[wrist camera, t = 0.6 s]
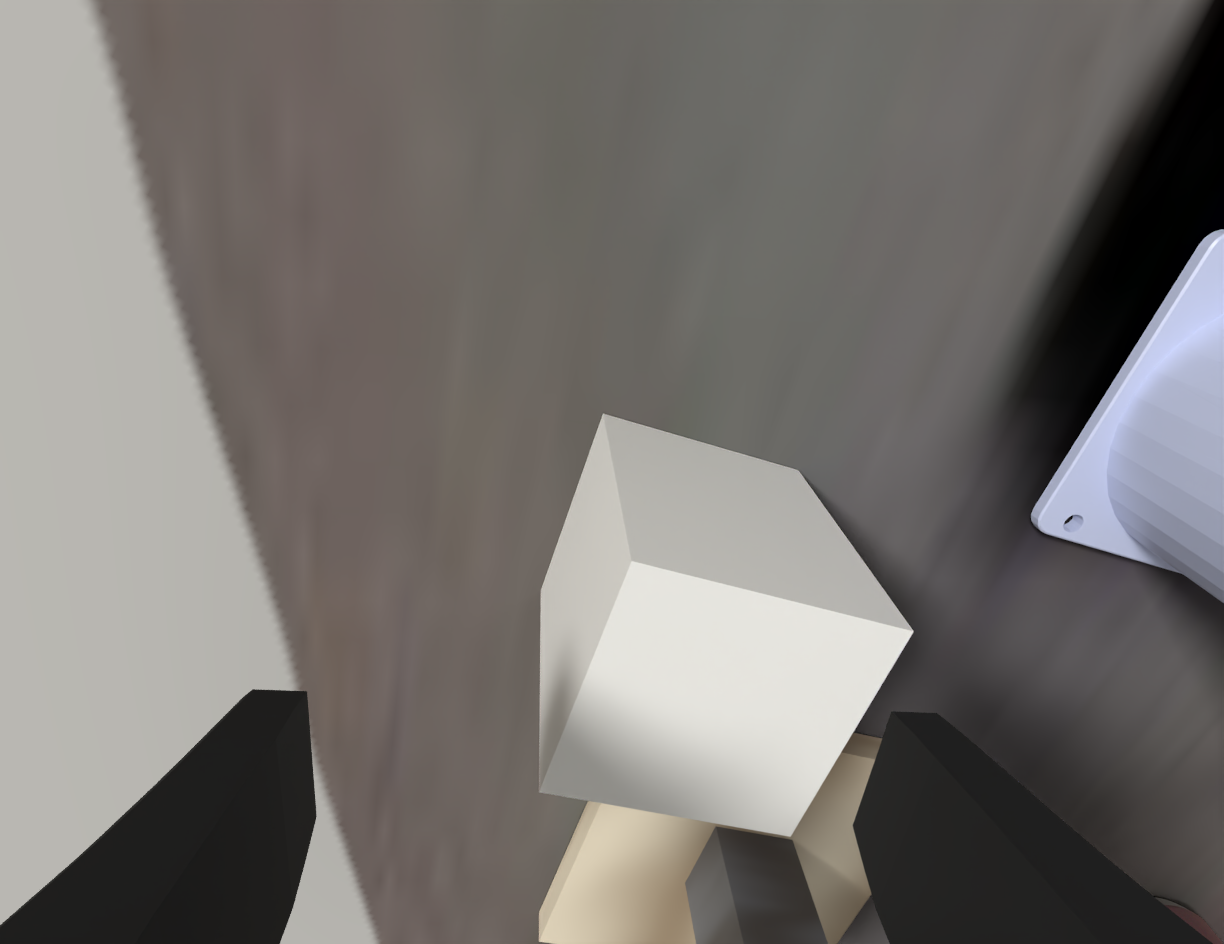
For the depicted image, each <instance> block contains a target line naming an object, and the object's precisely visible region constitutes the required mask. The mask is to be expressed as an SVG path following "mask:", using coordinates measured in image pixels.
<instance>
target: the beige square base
mask: <svg viewBox="0 0 1224 944" xmlns="http://www.w3.org/2000/svg"><path fill="white" fill-rule="evenodd" d="M881 741H882V738H877V737H872V736H867V735H863V734H858V733H852V735H851V737H850V738H849V740H848V742H847V743H846V745H845V747H844V748H843V750H842V752H841V753H840V755H839V757H838V758H837V760H836V762H835V763H834V765H833V767H832V768H831V770H830V772H829V773H828V775H827V777H826V778H825V780H824V782H823V783H822V785H821V787H820V788H819V790H818V792H817V793H816V795H815V797H814V798H813V800H812V802H811V803H810V805H809V807H808V808H807V810H806V812H805V813H804V815H803V817H802V818H801V820H800V822H799V823H798V825H797V827H796V828H795V830H794V832H793V833H792V835H791V837H789V836H783V835H778V834H772V833H766V832H761V831H755V830H749V829H744V828H738V827H732V826H727V825H721V824H716V823H710V822H704V821H699V820H693V819H687V818H682V817H676V816H671V815H665V814H659V813H654V812H648V811H642V810H637V809H631V808H625V807H620V806H614V805H609V804H603V803H597V802H592V801H588V802H587V805H586V807H585V809H584V811H583V814H582V816H581V818H580V820H579V823H578V825H577V827H576V830H575V832H574V834H573V836H572V839H571V841H570V843H569V846H568V848H567V850H566V852H565V855H564V857H563V859H562V861H561V864H560V866H559V868H558V871H557V873H556V875H555V877H554V880H553V882H552V884H551V887H550V889H549V891H548V893H547V896H546V898H545V900H544V902H543V905H542V907H541V909H540V912H539V942H546V943H554V944H837V943H838V942H839V940H840V939H841V937H842V936H843V934H844V933H845V931H846V930H847V929H848V927H849V926H850V924H851V923H852V921H853V920H854V918H855V917H856V915H857V914H858V913H859V911H860V910H861V908H862V907H863V905H864V904H865V902H866V901H867V900H868V898H869V897H870V895H871V890H870V887H869V884H868V880H867V877H866V874H865V870H864V867H863V863H862V859H861V855H860V852H859V848H858V844H857V840H856V837H855V833H854V829H853V823H854V820H855V817H856V814H857V811H858V808H859V805H860V802H861V799H862V797H863V794H864V791H865V788H866V785H867V782H868V779H869V776H870V773H871V770H872V767H873V764H874V762H875V759H876V756H877V753H878V750H879V747H880V744H881Z"/></svg>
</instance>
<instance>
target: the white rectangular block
mask: <svg viewBox="0 0 1224 944" xmlns="http://www.w3.org/2000/svg"><path fill="white" fill-rule="evenodd" d="M913 632H914V631H913V630H912V628H911V627H910V625H909V624H908V623H907V621H906V620H905V618H904V617H903V616H902V614H901V613H900V611H899V610H898V609H897V607H896V606H895V605H894V603H893V602H892V600H891V599H890V598H889V596H888V595H887V593H886V592H885V591H884V589H883V588H882V586H881V585H880V584H879V582H878V581H877V579H876V578H875V577H874V575H873V574H872V572H871V571H870V570H869V568H868V567H867V565H866V564H865V563H864V561H863V560H862V558H861V557H860V556H859V554H858V553H857V551H856V550H855V549H854V547H853V546H852V544H851V543H850V542H849V540H848V539H847V537H846V536H845V535H844V533H843V532H842V531H841V529H840V528H839V526H838V525H837V524H836V522H835V521H834V519H833V518H832V517H831V515H830V514H829V512H828V511H827V510H826V508H825V507H824V505H823V504H822V503H821V501H820V500H819V498H818V497H817V496H816V494H815V493H814V491H813V490H812V489H811V487H810V486H809V484H808V483H807V482H806V480H805V479H804V477H803V476H802V475H801V473H800V472H799V470H796V469H792V468H789V467H786V466H782V465H779V464H775V463H772V462H768V461H765V460H761V459H758V458H754V457H751V456H748V455H744V454H741V453H737V452H734V451H730V450H727V449H723V448H720V447H717V446H713V445H710V444H706V443H703V442H699V441H696V440H692V439H689V438H685V437H682V436H679V435H675V434H672V433H668V432H665V431H661V430H658V429H654V428H651V427H648V426H644V425H641V424H637V423H634V422H630V421H627V420H623V419H620V418H616V417H613V416H610V415H606V414H603V415H602V418H601V421H600V424H599V427H598V429H597V432H596V435H595V438H594V441H593V444H592V446H591V449H590V452H589V455H588V458H587V461H586V463H585V466H584V469H583V472H582V475H581V478H580V481H579V483H578V486H577V489H576V492H575V495H574V498H573V500H572V503H571V506H570V509H569V512H568V515H567V517H566V520H565V523H564V526H563V529H562V532H561V535H560V537H559V540H558V543H557V546H556V549H555V552H554V554H553V557H552V560H551V563H550V566H549V569H548V571H547V574H546V577H545V580H544V583H543V586H542V589H541V632H540V736H539V792H541V793H547V794H552V795H558V796H564V797H569V798H575V799H580V800H586V801H592V802H597V803H603V804H609V805H614V806H620V807H625V808H631V809H637V810H642V811H648V812H654V813H659V814H665V815H671V816H676V817H682V818H687V819H693V820H699V821H704V822H710V823H716V824H721V825H727V826H732V827H738V828H744V829H749V830H755V831H761V832H766V833H772V834H778V835H783V836H789V837H791V835H792V833H793V832H794V830H795V828H796V827H797V825H798V823H799V822H800V820H801V818H802V817H803V815H804V813H805V812H806V810H807V808H808V807H809V805H810V803H811V802H812V800H813V798H814V797H815V795H816V793H817V792H818V790H819V788H820V787H821V785H822V783H823V782H824V780H825V778H826V777H827V775H828V773H829V772H830V770H831V768H832V767H833V765H834V763H835V762H836V760H837V758H838V757H839V755H840V753H841V752H842V750H843V748H844V747H845V745H846V743H847V742H848V740H849V738H850V737H851V735H852V733H853V732H854V730H855V728H856V727H857V725H858V724H859V722H860V720H861V719H862V717H863V715H864V714H865V712H866V710H867V709H868V707H869V705H870V704H871V702H872V700H873V699H874V697H875V695H876V694H877V692H878V690H879V689H880V687H881V685H882V684H883V682H884V680H885V679H886V677H887V675H888V674H889V672H890V670H891V669H892V667H893V665H894V664H895V662H896V660H897V659H898V657H899V655H900V654H901V652H902V650H903V649H904V647H905V645H906V644H907V642H908V640H909V639H910V637H911V635H912V634H913Z"/></svg>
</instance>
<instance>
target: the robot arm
mask: <svg viewBox="0 0 1224 944" xmlns="http://www.w3.org/2000/svg"><path fill="white" fill-rule="evenodd" d="M1072 515H1073V518H1072V520H1071V521H1070V522H1069V523H1067V524H1064V522H1065V521H1066V520H1067V518H1068V517H1070V516H1072ZM1031 521H1032V523H1033V524H1034V526H1035V527H1037V528H1038V529H1039V530H1040V531H1042V532H1043V533H1045V534H1048V535H1051V536H1055V537H1058V538H1061V539H1065V540H1068V541H1072V542H1075V543H1078V544H1082V545H1085V546H1089V547H1092V548H1096V549H1099V550H1102V551H1106V552H1109V553H1113V554H1116V555H1120V556H1123V557H1126V558H1130V559H1133V560H1137V561H1140V562H1143V563H1147V564H1150V565H1154V566H1157V567H1161V568H1164V569H1167V570H1171V571H1174V572H1178V573H1181V574H1183V575H1185V576H1186V577H1188V578H1189V579H1190V580H1192V581H1193V582H1195V583H1196V584H1197V585H1199V586H1200V587H1202V588H1203V589H1204V590H1206V591H1207V592H1208V593H1210V594H1211V595H1213V596H1214V597H1215V598H1217V599H1218V600H1220V601H1221V602H1222V603H1224V230H1218V231H1215V232H1212V233H1211V234H1209V235H1208V236H1206V237H1205V238H1204V239H1203V241H1202V242H1201V243H1200V244H1199V245H1198V247H1197V249H1196V250H1195V252H1194V253H1193V255H1192V256H1191V258H1190V260H1189V261H1188V263H1187V264H1186V266H1185V268H1184V269H1183V271H1182V272H1181V274H1180V276H1179V277H1178V279H1177V280H1176V282H1175V284H1174V285H1173V287H1172V288H1171V290H1170V292H1169V293H1168V295H1167V296H1166V298H1165V299H1164V301H1163V303H1162V304H1161V306H1160V307H1159V309H1158V311H1157V312H1156V314H1155V315H1154V317H1153V319H1152V320H1151V322H1150V323H1149V325H1148V327H1147V328H1146V330H1145V331H1144V333H1143V335H1142V336H1141V338H1140V339H1139V341H1138V343H1137V344H1136V346H1135V347H1134V349H1133V350H1132V352H1131V354H1130V355H1129V357H1128V358H1127V360H1126V362H1125V363H1124V365H1123V366H1122V368H1121V370H1120V371H1119V373H1118V374H1117V376H1116V378H1115V379H1114V381H1113V382H1112V384H1111V386H1110V387H1109V389H1108V390H1107V392H1106V393H1105V395H1104V397H1103V398H1102V400H1101V401H1100V403H1099V405H1098V406H1097V408H1096V409H1095V411H1094V413H1093V414H1092V416H1091V417H1090V419H1089V421H1088V422H1087V424H1086V425H1085V427H1084V429H1083V430H1082V432H1081V433H1080V435H1079V437H1078V438H1077V440H1076V441H1075V443H1074V444H1073V446H1072V448H1071V449H1070V451H1069V452H1068V454H1067V456H1066V457H1065V459H1064V460H1063V462H1062V464H1061V465H1060V467H1059V468H1058V470H1057V472H1056V473H1055V475H1054V476H1053V478H1052V480H1051V481H1050V483H1049V484H1048V486H1047V487H1046V489H1045V491H1044V492H1043V494H1042V495H1041V497H1040V499H1039V500H1038V502H1037V503H1036V505H1035V507H1034V508H1033V511H1032V513H1031ZM315 820H316V805H315V791H314V779H313V765H312V752H311V739H310V725H309V712H308V699H307V691H281V690H252V691H250V692H249V693H248V694H247V695H245V696H244V697H243V698H242V699H241V700H240V701H239V702H238V703H237V704H236V705H235V706H234V707H233V708H232V709H231V710H230V711H229V712H228V713H227V714H226V715H225V716H224V717H223V718H222V719H221V720H220V721H219V722H218V723H217V724H216V725H215V726H214V727H213V728H212V729H211V730H210V731H209V732H208V733H207V734H206V735H205V736H204V737H203V738H202V739H201V740H200V741H199V742H198V743H197V744H196V745H195V746H194V747H193V748H192V749H191V750H190V751H189V752H188V753H187V754H186V755H185V756H184V757H183V758H182V759H181V760H180V761H179V762H178V763H177V764H176V765H175V766H174V767H173V768H172V769H171V770H170V771H169V772H168V773H167V774H166V775H165V776H164V777H163V778H162V779H161V780H160V781H159V782H158V783H157V784H156V785H155V786H153V788H152V789H150V790H149V791H148V792H147V793H146V794H145V795H144V796H143V797H142V798H141V799H140V800H139V801H138V802H137V803H136V804H134V805H133V806H132V807H131V808H130V809H129V810H128V811H127V812H126V813H125V814H124V815H123V816H122V817H121V818H120V819H119V820H118V821H116V822H115V823H114V825H112V826H111V827H110V828H109V829H108V830H107V831H106V832H105V833H104V834H103V835H102V836H100V837H99V839H97V840H96V841H95V842H94V843H93V844H92V845H91V846H90V847H89V848H88V849H86V850H85V851H84V852H83V853H82V854H81V855H80V856H79V857H78V858H77V859H75V860H74V861H73V862H72V863H71V864H70V865H69V866H68V867H67V868H65V869H64V870H63V871H62V872H61V873H60V874H58V875H57V876H56V877H55V878H54V879H53V880H52V881H50V882H49V883H48V884H47V885H46V886H45V887H43V888H42V889H41V890H40V891H39V892H38V893H37V894H36V895H34V896H33V897H32V898H31V899H30V900H29V901H28V902H26V903H25V904H24V905H23V906H22V907H21V908H19V909H18V910H17V911H16V912H15V913H14V914H13V915H11V916H10V917H9V918H8V919H7V920H6V921H5V922H3V924H1V925H0V944H280V941H281V938H282V935H283V933H284V930H285V927H286V925H287V922H288V919H289V917H290V914H291V911H292V908H293V905H294V901H295V898H296V894H297V890H298V886H299V883H300V879H301V875H302V872H303V868H304V864H305V860H306V856H307V852H308V848H309V844H310V840H311V836H312V832H313V828H314V824H315ZM853 829H854V833H855V837H856V840H857V844H858V848H859V852H860V855H861V859H862V863H863V867H864V870H865V874H866V877H867V880H868V884H869V887H870V890H871V894H872V897H873V900H874V904H875V907H876V910H877V913H878V915H879V918H880V920H881V923H882V925H883V928H884V930H885V933H886V935H887V938H888V940H889V943H890V944H1213V943H1212V942H1210V941H1209V940H1208V939H1207V938H1205V937H1204V936H1203V935H1202V934H1200V933H1199V932H1198V931H1196V930H1195V929H1194V928H1193V927H1191V926H1190V925H1189V924H1188V923H1186V922H1185V921H1184V920H1183V919H1181V918H1180V917H1179V916H1177V915H1176V914H1175V913H1174V912H1172V911H1171V910H1170V909H1169V908H1167V907H1166V906H1165V905H1164V904H1162V903H1161V902H1160V901H1158V900H1157V899H1156V898H1155V897H1153V896H1152V895H1151V894H1150V893H1148V892H1147V891H1146V890H1145V889H1143V888H1142V887H1141V886H1140V885H1139V884H1137V883H1136V882H1135V881H1134V880H1133V879H1131V878H1130V877H1129V876H1128V875H1126V874H1125V873H1124V872H1123V871H1122V870H1120V869H1119V868H1118V867H1117V866H1115V865H1114V864H1113V863H1112V862H1111V861H1109V860H1108V859H1107V858H1106V857H1105V856H1104V855H1102V854H1101V853H1100V852H1099V851H1098V850H1096V849H1095V848H1094V847H1093V846H1092V845H1090V844H1089V843H1088V842H1087V841H1086V840H1085V839H1083V838H1082V837H1081V836H1080V835H1079V834H1078V833H1076V832H1075V831H1074V830H1073V829H1072V828H1070V827H1069V826H1068V825H1067V824H1066V823H1065V822H1063V821H1062V820H1061V819H1060V818H1059V817H1058V816H1057V815H1055V814H1054V813H1053V812H1052V811H1051V810H1050V809H1048V808H1047V807H1046V806H1045V805H1044V804H1043V803H1041V802H1040V801H1039V800H1038V799H1037V798H1036V797H1035V796H1033V795H1032V794H1031V793H1030V792H1029V791H1028V790H1027V789H1025V788H1024V787H1023V786H1022V785H1021V784H1020V783H1019V782H1017V781H1016V780H1015V779H1014V778H1013V777H1012V776H1011V775H1009V774H1008V773H1007V772H1006V771H1005V770H1004V769H1002V768H1001V767H1000V766H999V765H998V764H997V763H996V762H994V761H993V760H992V759H991V758H990V757H989V756H987V755H986V754H985V753H984V752H983V751H982V750H981V749H979V748H978V747H977V746H976V745H975V744H974V743H972V742H971V741H970V740H969V739H968V738H967V737H965V736H964V735H963V734H962V733H961V732H959V731H958V730H957V729H956V728H955V727H953V726H952V725H951V724H950V723H948V722H947V721H946V720H945V719H943V718H942V717H941V716H940V715H938V714H937V713H914V712H891V715H890V718H889V721H888V724H887V726H886V729H885V732H884V735H883V738H882V741H881V744H880V747H879V750H878V753H877V756H876V759H875V762H874V764H873V767H872V770H871V773H870V776H869V779H868V782H867V785H866V788H865V791H864V794H863V797H862V799H861V802H860V805H859V808H858V811H857V814H856V817H855V820H854V823H853Z"/></svg>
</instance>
